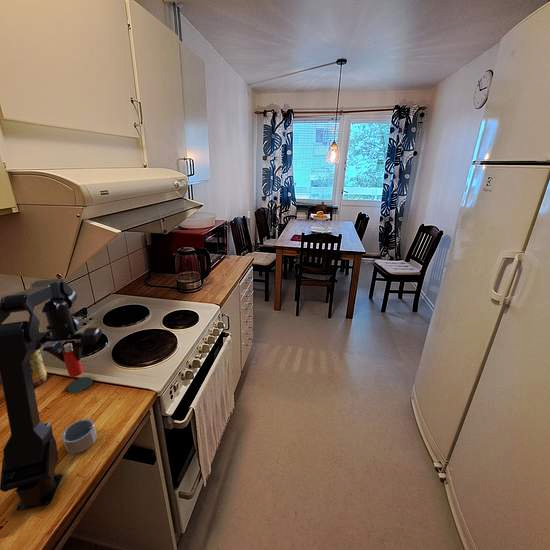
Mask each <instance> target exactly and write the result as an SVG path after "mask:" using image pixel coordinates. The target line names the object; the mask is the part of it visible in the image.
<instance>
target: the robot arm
mask: <svg viewBox="0 0 550 550" xmlns="http://www.w3.org/2000/svg"><path fill="white" fill-rule="evenodd" d="M77 298H78V294H77V292H76V291H75V290H74V289H72V288H71V287H70V285H69V284H68V283H67V281H64V279H63V278H60V277H59V278H50V279H39V280H35V281H34V282H33V283H31V284H30V288H27V289H25V290H22V291H19V292H16V293H14V294H13V293H12V294H9V295H6V296H2V297H1V299H0V380H1V385H2V386H1V387H2V393H3V398H4V402H5V408H6V414H7V419H8V424H9V430H10V436H9V438H8V440H7V441H6V444H5V445H4V448H3V449H2V454H3V456H2V460H1V461H2V462H1V472H0V473H1V474H0V491H1V492H3V493H6V492H9V491H11V490H15V493H16V494H17V497H18V498H19V500H20V501H19V503H18V505H17V506H16V509H15V510H16V511H17V512H20V511H25V510H29V509H30V510H31V509H35V508H39V507H45V506H49V505H50V504H51V503H52V501H53V499H54V497H55V495H56V492H57V490H58V488H59V486H60V484H61V481H62V479H63V477H64V476H63V474H56V473H55V471H56V468H57V465H58V463H59V453H58V447H57V441H56V439H55V436H54V433H53V426H52V424H51V423H50V422H46V423H43V422H42V421H41V420H40V419H41V418H40V413H39V409H38V408H39V407H38V403H37V396H36V391H35V386H34V385H33V379H32V373H31V367H30V361H29V359H30V357H31V355H32V353H33V351H34V350H40V349H41V348H42V346H43V348H42V351H43V352H47V353H48V354H50V355H52V356H54V357H55V358H57V359H58V360H59V361H61V362H62V363H65V361H64V358H63V354H62V351H63V350H64V347H63V342H72V341H73V342H74V344H72V349H73V351H74V354H75V356H76V358H77V360H78V361H79V360H80V361H81V359H82V354H83V353H82V352H83V347H84V346H88V345H95V344H97V342H98V341H99V339H101V337H102V335H103V332H102V328H100V327H99V326H97V327H86V328H85V330H84V331H79V330H80V328H81V327H83V326H84V324H83V316H74V315H71V311H70V309H71V308H72V307H73V305H74V304H75V302H76V301H77ZM43 303H44V305H42V309H41V313H44V315H45V318H46V321H47V324H48V325H47V326H46V330H47V331H45V332H44V331H43V332H39V330H40V329H39V328H40V323H41V322H40V319H39V318H38V316H37V314H36V313H35V312H34V310H35V307H37V306H38V305H40V304H43ZM19 312H27V313H28V314H29V317H28V320H22V321H15V322H8V323H4V322H5V321H6V319H8V318H9V317H10V315H11V314H12V313H19ZM48 331H50V332H48ZM78 331H79V332H78Z"/></svg>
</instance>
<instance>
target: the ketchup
mask: <svg viewBox="0 0 550 550" xmlns="http://www.w3.org/2000/svg"><path fill="white" fill-rule="evenodd" d="M72 346H73V343H72V342H68V343H65V344H64V345H62V347H63V351H62V354H63V358H64V361H65V362H64V363H65V367H66V369H67V374H68V376H69V377H71V378H76V377H78V376H81V375H82V374H83V373H84V370H83V366H82V363H81V359H80V360H79V361H78V360H77V358H76V356H75V354H74V351H73V349H72Z"/></svg>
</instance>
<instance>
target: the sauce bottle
mask: <svg viewBox="0 0 550 550" xmlns="http://www.w3.org/2000/svg"><path fill="white" fill-rule="evenodd" d="M29 361H30V367H31V373H32V379H33V385H34V387H36V386H39V385H41V384H43V383H44V382H45V381H47V378H48V375H47V374H48V373H47V370H46V367H45V364H44V361H43V357H42V354H41V350H40V349H39V350H34V351H33V353H32V355H31V357H30V359H29Z"/></svg>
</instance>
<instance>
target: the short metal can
mask: <svg viewBox="0 0 550 550" xmlns="http://www.w3.org/2000/svg"><path fill="white" fill-rule="evenodd" d="M97 438H98V433H97V430H96V427H95V424H94V421H93V420H91V419H88V418H83V419H78V420H77V421H75V422H73V423H71V424H70V425H68V426H67V427H65V429H64V431H63V432H62V434H61V440H62V443H63V445H64V449H65V451H66V452H67V453H68V454H72V455H75V454H80V453H82V452H85V451H86V450H89V448H91V447H92V446H93V445H94V443H95V442H96V440H97Z"/></svg>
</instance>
